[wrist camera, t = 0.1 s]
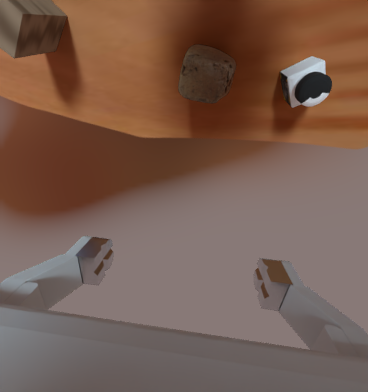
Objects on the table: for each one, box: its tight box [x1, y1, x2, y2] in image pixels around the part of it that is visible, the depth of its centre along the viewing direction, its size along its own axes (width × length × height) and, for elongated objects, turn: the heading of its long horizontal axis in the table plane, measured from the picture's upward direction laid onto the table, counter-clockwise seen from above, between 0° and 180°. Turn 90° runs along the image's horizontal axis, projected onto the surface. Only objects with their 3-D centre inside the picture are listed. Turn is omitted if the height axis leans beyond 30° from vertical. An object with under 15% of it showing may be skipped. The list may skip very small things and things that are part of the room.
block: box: [178, 44, 236, 103], centre depth 40 cm, size 11×8×20 cm
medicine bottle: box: [280, 56, 332, 108], centre depth 43 cm, size 7×7×12 cm
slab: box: [0, 0, 67, 58], centre depth 41 cm, size 9×4×14 cm, turn 137°
